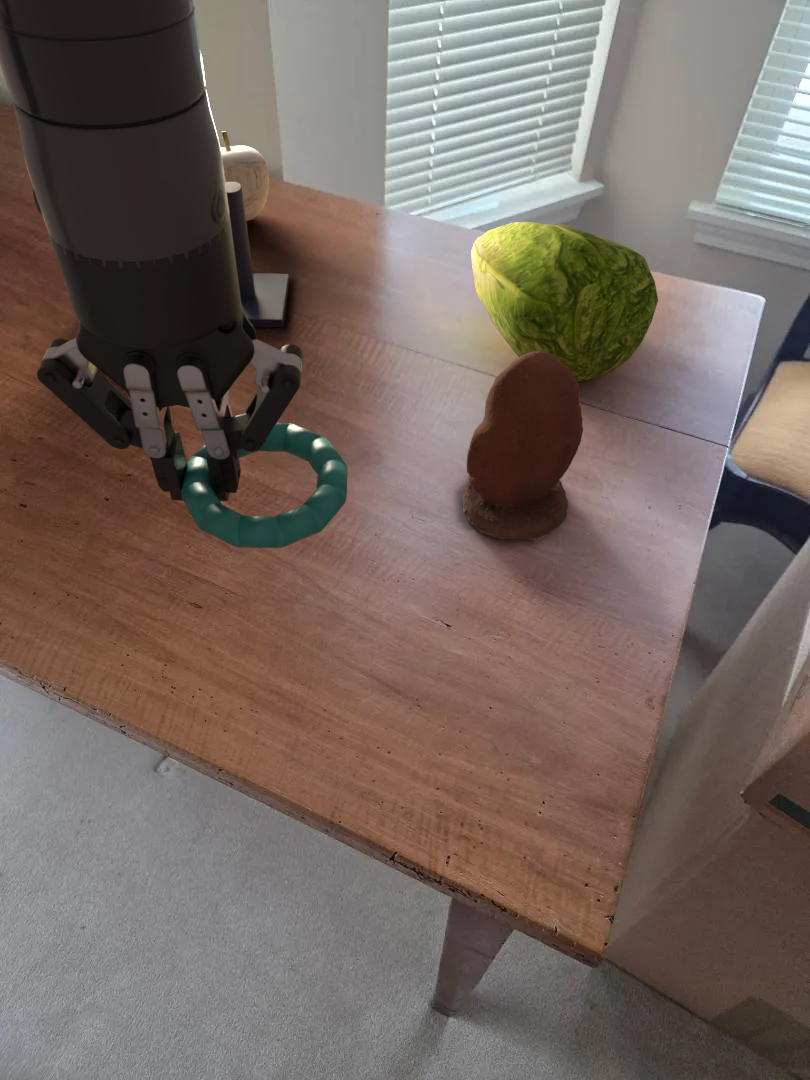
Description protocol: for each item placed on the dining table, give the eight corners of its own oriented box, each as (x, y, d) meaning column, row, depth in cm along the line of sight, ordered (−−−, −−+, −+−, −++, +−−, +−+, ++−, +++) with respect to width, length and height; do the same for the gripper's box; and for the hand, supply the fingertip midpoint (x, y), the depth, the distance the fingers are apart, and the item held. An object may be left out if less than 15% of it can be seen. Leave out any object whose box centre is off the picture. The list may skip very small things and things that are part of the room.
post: (199, 325, 81) (175, 208, 71) (210, 279, 87) (190, 165, 77) (282, 327, 81) (271, 210, 71) (289, 281, 87) (279, 167, 77)
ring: (172, 553, 42) (166, 532, 41) (199, 436, 48) (194, 414, 47) (344, 555, 42) (344, 535, 41) (349, 439, 49) (349, 418, 47)
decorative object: (242, 242, 92) (231, 159, 84) (188, 221, 95) (173, 138, 87) (287, 214, 97) (280, 132, 89) (234, 194, 100) (223, 114, 92)
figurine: (582, 483, 68) (626, 344, 57) (549, 561, 62) (591, 424, 51) (487, 451, 70) (510, 312, 59) (447, 524, 64) (464, 385, 53)
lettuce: (558, 207, 87) (462, 156, 78) (705, 289, 71) (606, 237, 62) (499, 320, 94) (404, 285, 85) (621, 419, 77) (520, 389, 68)
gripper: (307, 174, 34) (321, 450, 48) (-1, 161, 34) (100, 445, 47) (295, 260, 30) (314, 540, 43) (-64, 248, 29) (68, 536, 42)
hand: (202, 489), depth 45 cm, fingers closed on ring, 2 cm apart
